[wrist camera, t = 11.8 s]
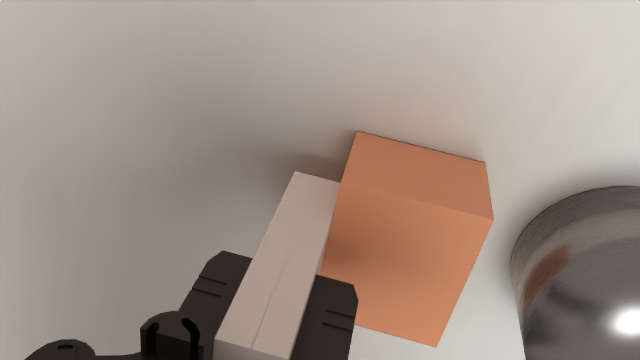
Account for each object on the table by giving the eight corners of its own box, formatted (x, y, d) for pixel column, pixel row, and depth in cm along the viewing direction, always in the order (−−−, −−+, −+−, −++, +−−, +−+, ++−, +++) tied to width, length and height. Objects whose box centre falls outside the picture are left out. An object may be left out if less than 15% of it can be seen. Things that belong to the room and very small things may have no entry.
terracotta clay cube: (328, 252, 19) (310, 312, 16) (356, 131, 16) (341, 180, 13) (436, 281, 18) (436, 347, 16) (485, 163, 16) (494, 219, 13)
